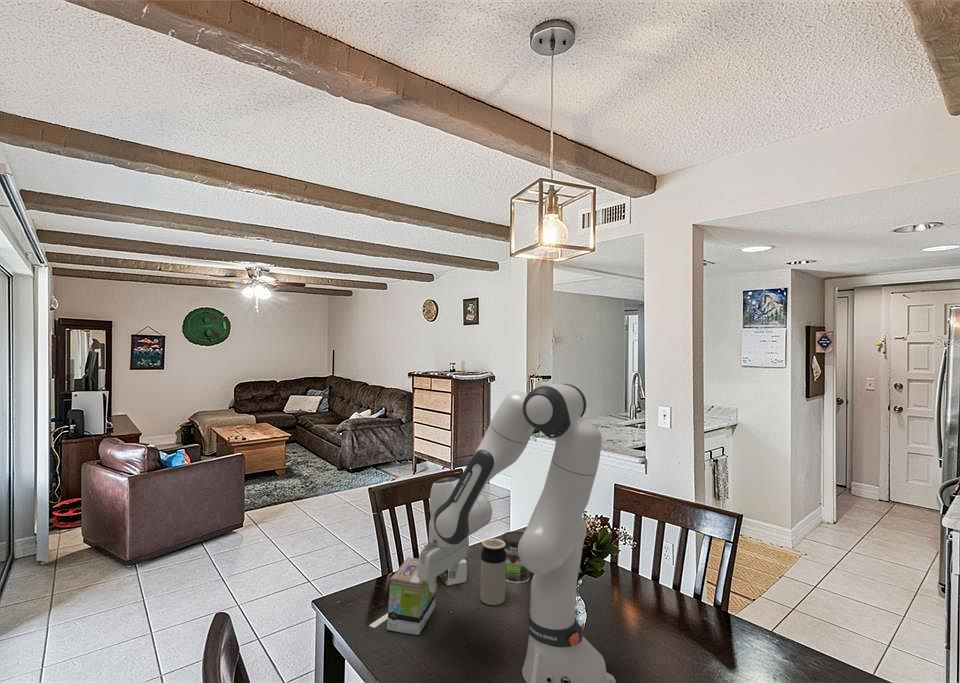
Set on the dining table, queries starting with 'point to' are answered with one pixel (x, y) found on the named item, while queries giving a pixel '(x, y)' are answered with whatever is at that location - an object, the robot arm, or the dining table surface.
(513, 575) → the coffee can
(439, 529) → the robot arm
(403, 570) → the tea box
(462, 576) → the medicine bottle
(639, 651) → the dining table surface
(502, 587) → the travel mug
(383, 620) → the strip
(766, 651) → the dining table surface
